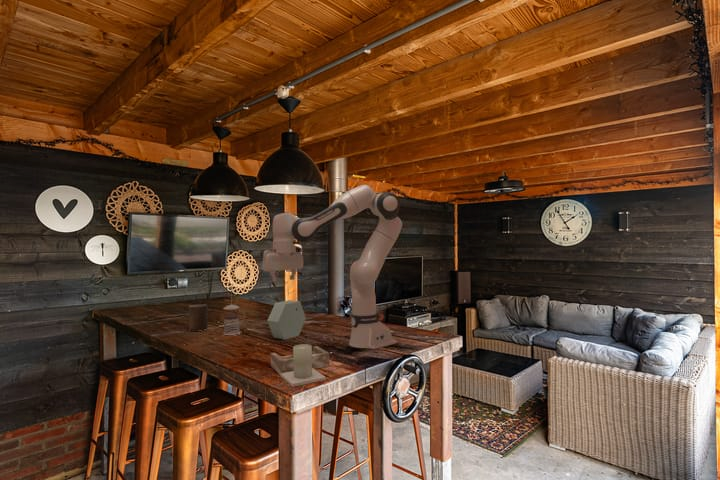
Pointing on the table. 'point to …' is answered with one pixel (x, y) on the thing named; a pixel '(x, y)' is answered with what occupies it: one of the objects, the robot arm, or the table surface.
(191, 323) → the pillar candle
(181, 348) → the table surface
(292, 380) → the concrete tile
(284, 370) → the frame
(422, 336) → the table surface
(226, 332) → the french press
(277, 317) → the grey-green faceted block
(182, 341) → the table surface
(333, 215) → the robot arm
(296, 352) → the sage green rounded cylinder
